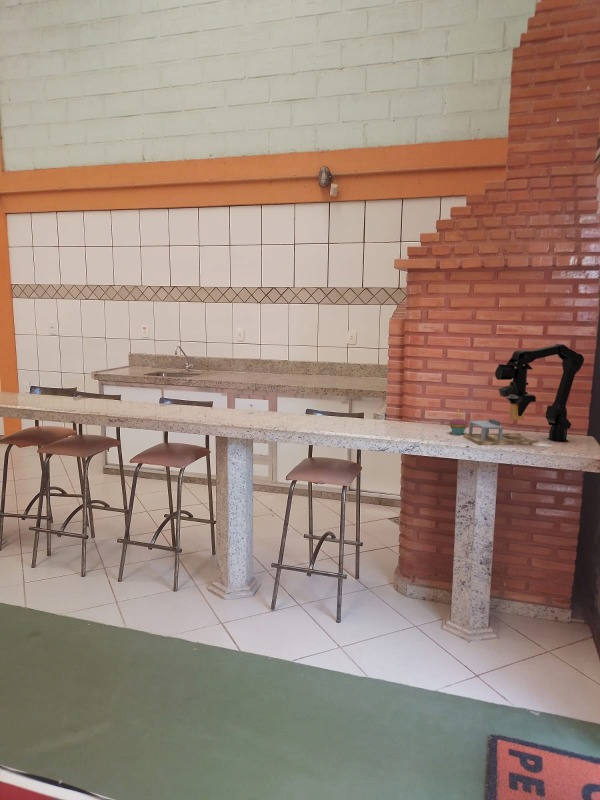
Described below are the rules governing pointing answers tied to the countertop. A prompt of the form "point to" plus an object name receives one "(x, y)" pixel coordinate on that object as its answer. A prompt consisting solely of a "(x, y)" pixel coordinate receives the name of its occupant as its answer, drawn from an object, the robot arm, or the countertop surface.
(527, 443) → the board
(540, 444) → the dish
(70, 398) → the countertop surface
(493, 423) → the grey toy table
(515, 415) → the block
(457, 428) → the cupcake
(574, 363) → the robot arm
